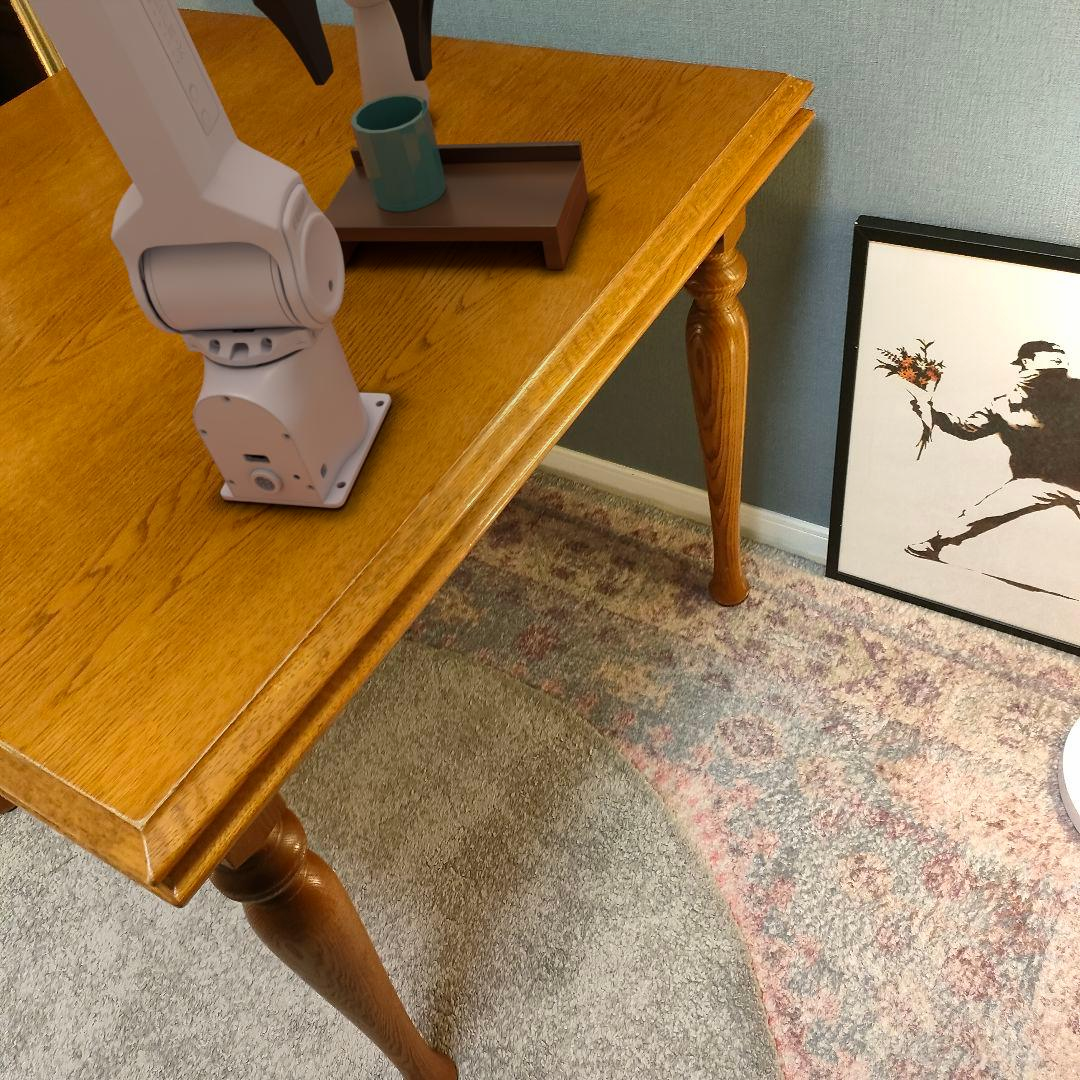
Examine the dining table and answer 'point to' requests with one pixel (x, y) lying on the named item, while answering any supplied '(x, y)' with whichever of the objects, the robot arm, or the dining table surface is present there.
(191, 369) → the dining table surface
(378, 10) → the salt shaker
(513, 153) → the shelf
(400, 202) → the cup
